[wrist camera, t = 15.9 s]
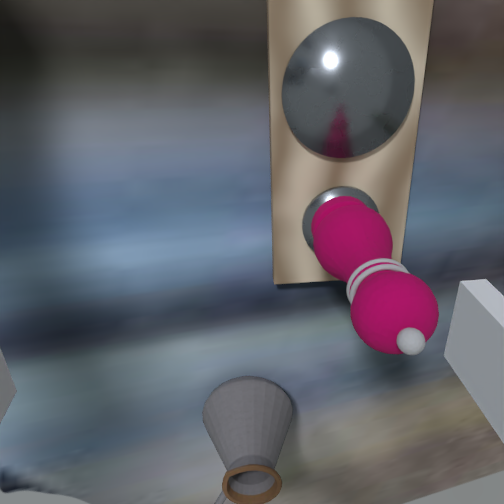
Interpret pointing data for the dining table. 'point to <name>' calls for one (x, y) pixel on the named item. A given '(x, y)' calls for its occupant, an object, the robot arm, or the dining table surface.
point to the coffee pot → (248, 436)
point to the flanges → (348, 87)
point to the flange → (325, 197)
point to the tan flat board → (328, 168)
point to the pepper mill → (373, 277)
